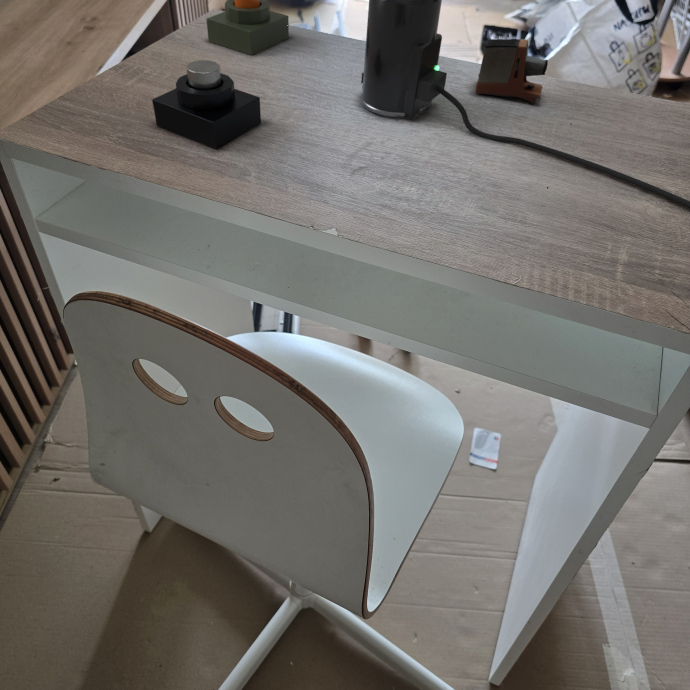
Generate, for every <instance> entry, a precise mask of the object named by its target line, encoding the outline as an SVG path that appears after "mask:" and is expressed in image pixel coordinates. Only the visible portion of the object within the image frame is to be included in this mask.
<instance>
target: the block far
mask: <svg viewBox="0 0 690 690" xmlns="http://www.w3.org/2000/svg"><path fill="white" fill-rule="evenodd" d="M205 20H206V30H207V39H208V43H213V44H216V45H218V46H221V47H225V48H228V49H230V50H231V49H232V50H234V51H237V52H241V53H244V54H246V55H250V56H253V55H256V54H258V53H260V52H262V51H264V50H266V49H269V48H271V47H272V46H274V45H277V44H279V43H281V42H284V41H285V40H287V39H289V36H290V34H289V32H290V31H289V30H290V29H289V25H290V24H289V21H290V20H289V15H287V14H283V13H280V12H278V11H277V12H276V11H274V10H270V2H269V1H268V0H260V6H259V7H257V8H249V9H248V8H240V7H236V6H235V1H234V0H226V1H225V3H224V11H223V12H220V13H217V14H215V15H212V16H210V17H207V18H206V19H205ZM287 25H288V26H287Z"/></svg>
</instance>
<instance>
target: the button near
mask: <svg viewBox="0 0 690 690" xmlns="http://www.w3.org/2000/svg"><path fill="white" fill-rule="evenodd" d="M220 73H221V66H220V64H219V63H217V62H216V61H213V60H208V59H200V60H193V61H191V62H189V63H187V65H186V74H187V76H188V83H189V87H190V88H192V89H195V90H206V91H207V90H213V89H217V88H219V87H221V75H220Z"/></svg>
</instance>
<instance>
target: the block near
mask: <svg viewBox="0 0 690 690" xmlns="http://www.w3.org/2000/svg"><path fill="white" fill-rule="evenodd" d="M220 75H221V87H219V88H217V89H213V90H207V91H206V90H195V89H192V88H190V87H189V83H188V76H187V73H186V74H184V75H181V76H180V77H178V79H177V80H176V81H175V88H174V89H172V90H170V91H167V92H165V93H163V94H160V95H159V96H157V97H155V98H152V99H151V100H152V106H153V107H152V108H153V112H154V117H155V124H156V127H159V128H161V129H164V130H167V131H168V132H172V133H174V134H176V135H179V136H181V137H184V138H187V139H189V140H191V141H194V142H197V143H199V144H201V145H204V146H206V147H209V148H212V149H214V150H218V149H220V148H221V147H223V146H225V145H226V144H228V143H230V142H231V141H234V140H235V139H237V138H238V137H240V136H242V135H244V134H245V133H247V132H249V131H250V130H252V129H254V128H255V127H257V126H259V125H260V124H262V115H261V97H259V96H257V95H254V94H251V93H248V92H246V91H243V90H240V89H236V88H235V81H234V80H233V79H232V78H231V77H230V75H228V74H224V73H221V72H220Z"/></svg>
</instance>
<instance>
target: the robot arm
mask: <svg viewBox="0 0 690 690" xmlns="http://www.w3.org/2000/svg"><path fill="white" fill-rule="evenodd" d="M442 3H443V0H368V9H367V23H366V24H367V25H366V35H365V36H366V37H365V50H364V63H363V72H361V81H360V84H362V87H361V89H362V91H361V92H362V93H361V96H360V103H361V105H362V106H363V107H364V108H365V109H366V110H368V111H369V112H371V113H374V114H376V115H379V116H384V117H389V118H404V119H408V120H413V119H415V118H416V117H418V116H419V115H420V114H422V113H423V112H425V110H428V108H429V107H430V106H432V103H433V100H434V99H435V98H437V97H438V96H440V95H441V96H442V97H444V98H445V99H446V100H448V101H449V102H450V103H451V104H452V105H453V106H454V107H455V108H456V109H457V110H458V111H459V113H460V115H461V117H462V121H463V124H464V126H465V128H466V129H467V130H468V131H469V132H470V133H472V134H473V135H475V136H477V137H479V138H482V139H486V140H489V141H494V142H499V143H508V144H514V145H519V146H522V147H526V148H529V149H532V150H534V151H535V150H536V151H538V152H542V153H544V154H549V155H551V156H554V157H558V158H560V159H563V160H565V161H569V162H572V163H574V164H577V165H581V166H584V167H587V168H589V169H593V170H595V171H598V172H600V173H603V174H606V175H608V176H611V177H613V178H616V179H618V180H620V181H623V182H626V183H629V184H631V185H633V186H636V187H639V188H641V189H644V190H646V191H648V192H650V193H653V194H655V195H658V196H660V197H662V198H665V199H667V200H669V201H671V202H674V203H675V204H678V205H681V206H683V207H685V208H688V209H690V200H688V199H686V198H683V197H681V196H679V195H677V194H674V193H672V192H669V191H667V190H665V189H662V188H660V187H658V186H655V185H653V184H651V183H648V182H646V181H644V180H643V181H642V180H640V179H638V178H636V177H633V176H630V175H628V174H625V173H622V172H621V171H618V170H614V169H612V168H610V167H607V166H604V165H601V164H598V163H596V162H592V161H590V160H587V159H585V158H581V157H578V156H575V155H573V154H570V153H567V152H564V151H560V150H559V149H558V150H557V149H554V148H552V147H549V146H546V145H542V144H539V143H536V142H532V141H530V140H525V139H523V138H522V139H521V138H518V137H512V136H506V135H505V136H504V135H495V134H490V133H486V132H483V131H481V130H479V129H477V128H476V127H474V125H472V124H471V122H470V119H469V116H468V113H467V111H466V109H465V107H464V106H463V104H462V103H461V102H460V101H459V100H458V99H457V98H456V97H455V96H454V95H452V94H451V93H450V92H448V91H447V90H446V89H445V87H446V82H447V77H448V76H447V75H448V72H445V71H441V70H440V66H439V60H440V54H441V47H442V41H443V35H442V34H441V33H438V28H439V23H440V22H439V21H440V15H441V7H442Z"/></svg>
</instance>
